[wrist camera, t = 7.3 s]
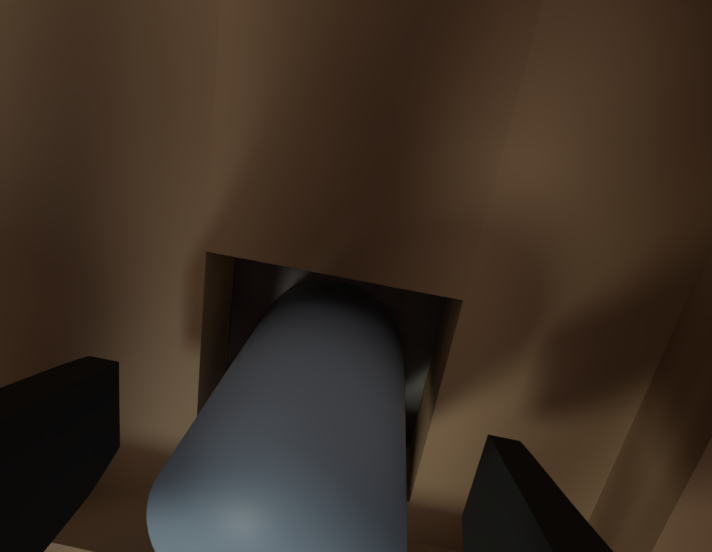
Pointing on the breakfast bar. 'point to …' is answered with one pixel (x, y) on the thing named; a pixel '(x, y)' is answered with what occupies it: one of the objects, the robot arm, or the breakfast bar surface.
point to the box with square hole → (379, 227)
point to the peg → (296, 437)
